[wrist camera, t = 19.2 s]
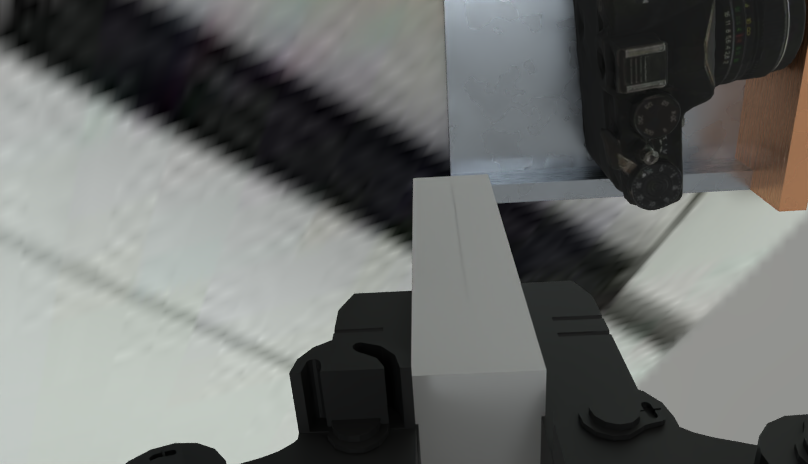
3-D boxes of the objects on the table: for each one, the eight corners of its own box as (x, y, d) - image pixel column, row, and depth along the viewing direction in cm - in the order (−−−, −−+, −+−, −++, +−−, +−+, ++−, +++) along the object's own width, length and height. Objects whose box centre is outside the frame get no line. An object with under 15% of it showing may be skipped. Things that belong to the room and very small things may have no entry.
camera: (742, 143, 42) (833, 201, 33) (571, 167, 43) (613, 231, 34) (754, -102, 36) (867, -113, 27) (557, -68, 37) (603, -67, 28)
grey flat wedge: (450, 186, 45) (456, 228, 38) (437, -147, 37) (442, -164, 30) (749, 169, 44) (806, 209, 37) (801, -175, 36) (885, -198, 29)
